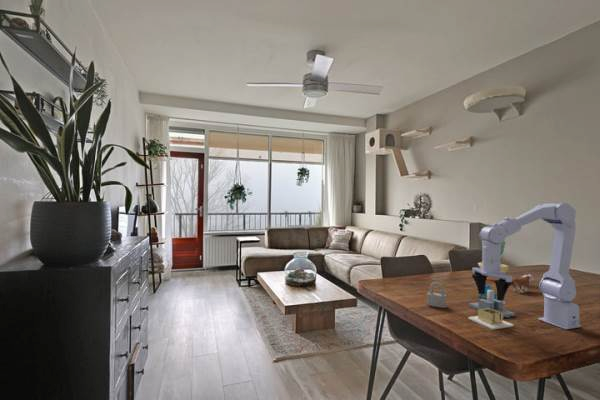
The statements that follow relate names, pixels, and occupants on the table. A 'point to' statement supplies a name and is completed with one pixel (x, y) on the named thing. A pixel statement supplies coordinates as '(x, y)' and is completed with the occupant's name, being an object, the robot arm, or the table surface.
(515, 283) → the bull figurine
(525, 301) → the table surface
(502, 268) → the potted cactus
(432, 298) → the padlock
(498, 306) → the vise
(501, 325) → the mat
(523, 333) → the table surface
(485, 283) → the gear
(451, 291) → the table surface
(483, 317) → the sleeve
